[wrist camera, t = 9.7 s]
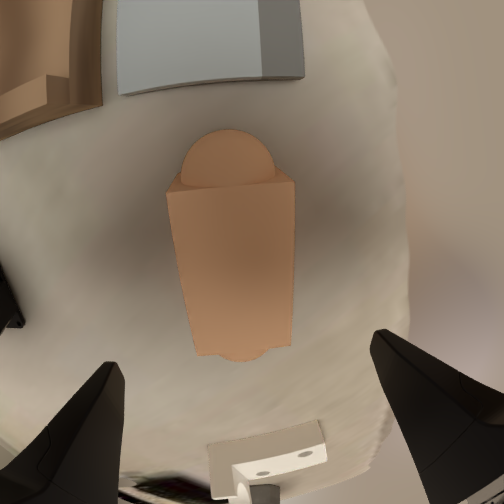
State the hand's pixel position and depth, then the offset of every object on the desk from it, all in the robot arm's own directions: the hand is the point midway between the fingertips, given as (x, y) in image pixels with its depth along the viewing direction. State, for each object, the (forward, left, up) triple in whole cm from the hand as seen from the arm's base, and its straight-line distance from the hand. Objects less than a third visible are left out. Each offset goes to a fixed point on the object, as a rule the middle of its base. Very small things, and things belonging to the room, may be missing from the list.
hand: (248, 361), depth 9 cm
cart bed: (-11, +18, -9) cm, 23 cm away
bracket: (+2, -27, -10) cm, 29 cm away
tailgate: (-5, +18, -9) cm, 21 cm away
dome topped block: (0, 0, -9) cm, 9 cm away
